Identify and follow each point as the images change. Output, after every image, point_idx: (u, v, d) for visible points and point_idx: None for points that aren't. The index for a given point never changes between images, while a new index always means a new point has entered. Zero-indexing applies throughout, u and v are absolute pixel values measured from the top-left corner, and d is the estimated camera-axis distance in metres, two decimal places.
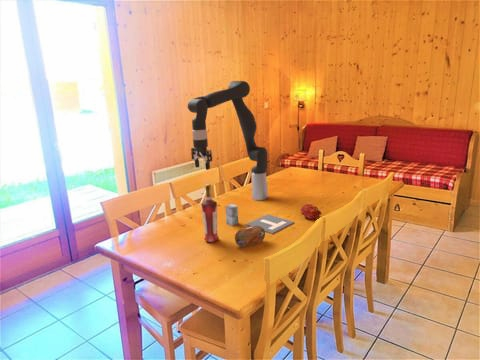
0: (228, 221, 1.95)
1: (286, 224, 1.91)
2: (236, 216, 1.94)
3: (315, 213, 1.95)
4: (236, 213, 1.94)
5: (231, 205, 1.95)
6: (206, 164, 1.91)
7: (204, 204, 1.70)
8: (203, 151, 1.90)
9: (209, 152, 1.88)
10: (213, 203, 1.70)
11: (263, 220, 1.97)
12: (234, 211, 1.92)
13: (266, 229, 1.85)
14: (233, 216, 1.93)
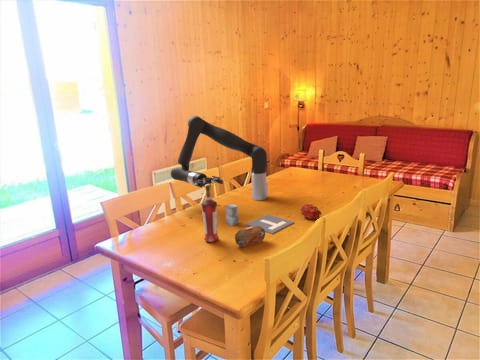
0: (228, 221, 1.95)
1: (286, 224, 1.91)
2: (236, 216, 1.94)
3: (315, 213, 1.95)
4: (236, 213, 1.94)
5: (231, 205, 1.95)
6: None
7: (204, 204, 1.70)
8: None
9: (195, 183, 2.00)
10: (213, 203, 1.70)
11: (263, 220, 1.97)
12: (234, 211, 1.92)
13: (266, 229, 1.85)
14: (233, 216, 1.93)
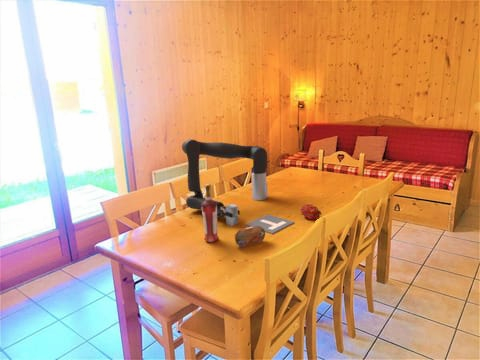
0: (228, 221, 1.95)
1: (286, 224, 1.91)
2: (236, 216, 1.94)
3: (315, 213, 1.95)
4: (236, 213, 1.94)
5: (231, 205, 1.94)
6: (228, 216, 1.93)
7: (204, 204, 1.70)
8: None
9: None
10: (213, 203, 1.70)
11: (263, 220, 1.97)
12: (234, 211, 1.92)
13: (266, 229, 1.85)
14: (233, 216, 1.93)
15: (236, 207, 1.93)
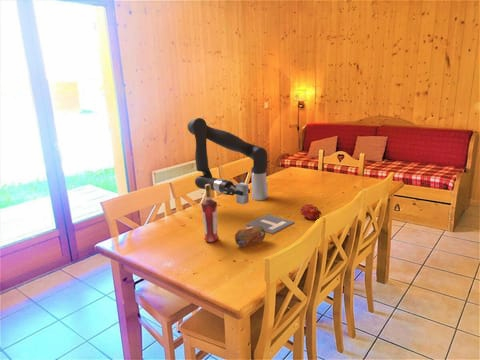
0: (238, 200, 1.91)
1: (286, 224, 1.91)
2: (246, 194, 1.91)
3: (315, 213, 1.95)
4: (246, 191, 1.90)
5: (241, 183, 1.91)
6: None
7: (204, 204, 1.70)
8: None
9: (225, 192, 1.91)
10: (213, 203, 1.70)
11: (263, 220, 1.97)
12: (244, 189, 1.89)
13: (266, 229, 1.85)
14: (243, 194, 1.89)
15: (246, 185, 1.89)
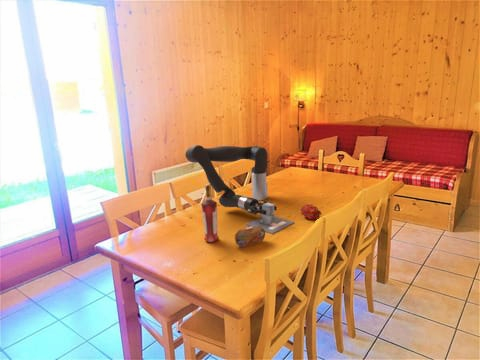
0: (264, 220, 1.93)
1: (286, 224, 1.91)
2: (272, 215, 1.92)
3: (315, 213, 1.95)
4: (272, 212, 1.92)
5: (267, 204, 1.92)
6: None
7: (204, 204, 1.70)
8: None
9: (249, 210, 1.93)
10: (213, 203, 1.70)
11: None
12: (270, 209, 1.90)
13: (266, 229, 1.85)
14: (270, 215, 1.91)
15: (273, 206, 1.91)
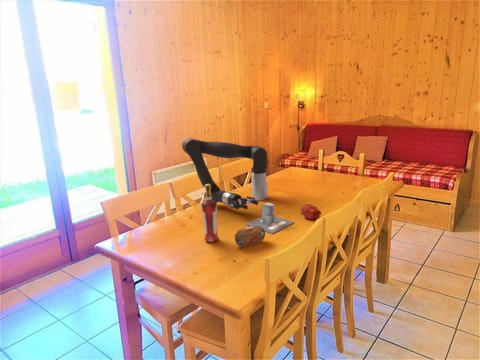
0: (264, 220, 1.93)
1: (286, 224, 1.91)
2: (272, 215, 1.92)
3: (315, 213, 1.95)
4: (272, 212, 1.92)
5: (267, 204, 1.92)
6: None
7: (204, 204, 1.70)
8: None
9: (231, 205, 2.02)
10: (213, 203, 1.70)
11: None
12: (270, 209, 1.90)
13: (266, 229, 1.85)
14: (270, 215, 1.91)
15: (273, 206, 1.91)
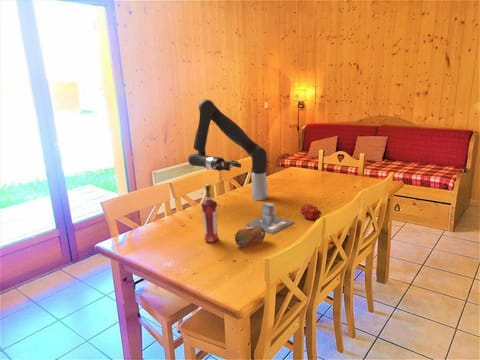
0: (264, 220, 1.93)
1: (286, 224, 1.91)
2: (272, 215, 1.92)
3: (315, 213, 1.95)
4: (272, 212, 1.92)
5: (267, 204, 1.92)
6: (225, 169, 1.99)
7: (204, 204, 1.70)
8: None
9: (214, 167, 2.01)
10: (213, 203, 1.70)
11: None
12: (270, 209, 1.90)
13: (266, 229, 1.85)
14: (270, 215, 1.91)
15: (273, 206, 1.91)
